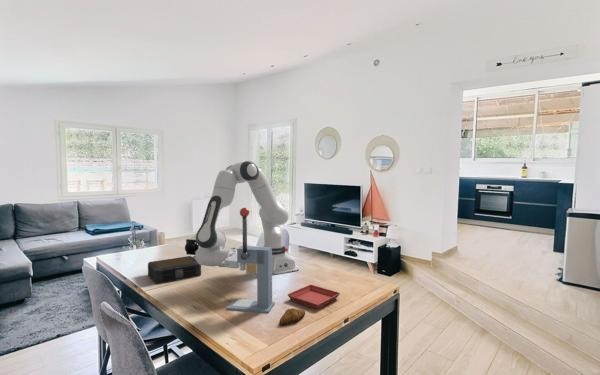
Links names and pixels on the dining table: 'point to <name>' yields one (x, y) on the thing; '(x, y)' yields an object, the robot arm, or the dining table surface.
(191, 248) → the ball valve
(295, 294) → the plant saucer
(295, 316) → the croissant
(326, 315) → the dining table surface
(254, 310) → the press
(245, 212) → the lever
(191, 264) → the cash box
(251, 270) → the block
